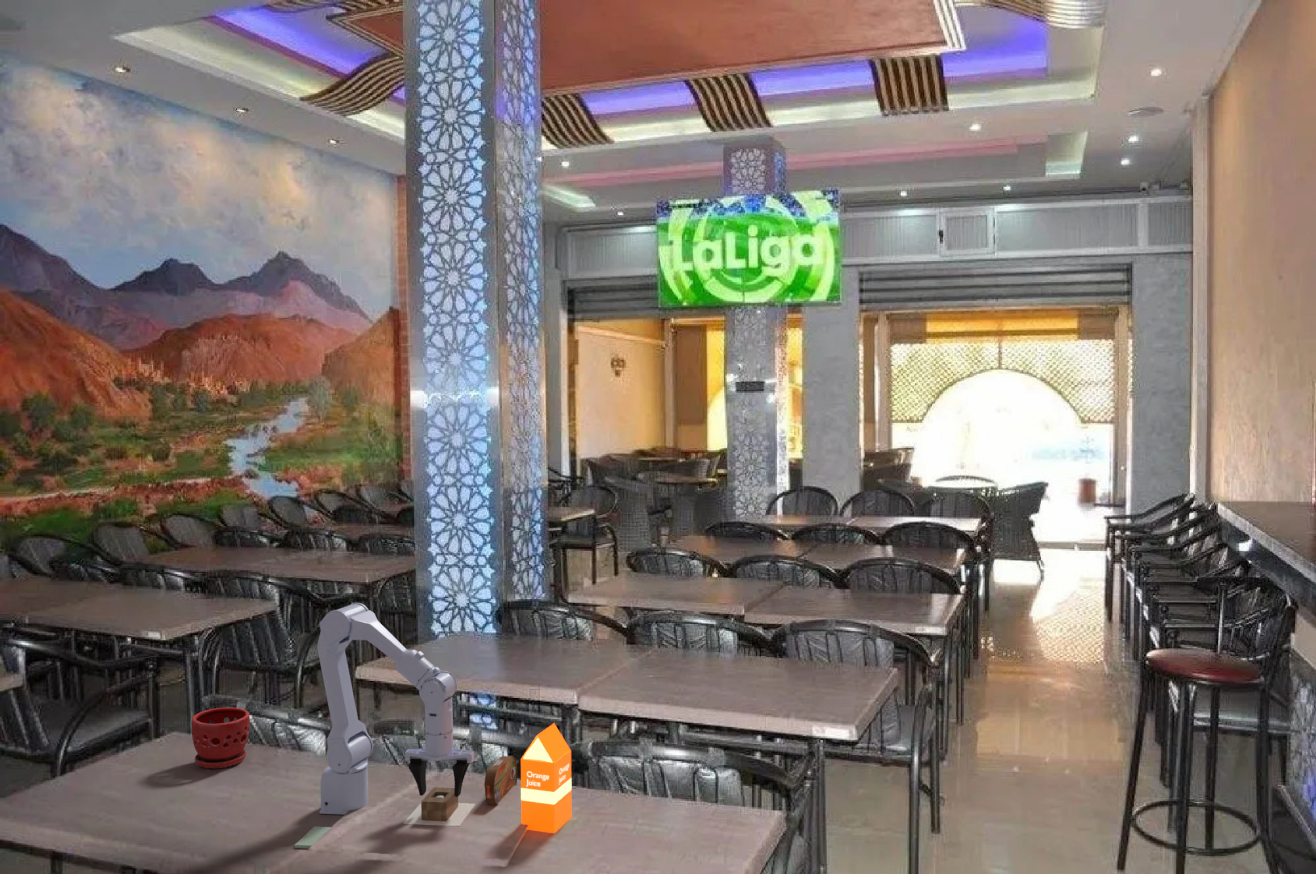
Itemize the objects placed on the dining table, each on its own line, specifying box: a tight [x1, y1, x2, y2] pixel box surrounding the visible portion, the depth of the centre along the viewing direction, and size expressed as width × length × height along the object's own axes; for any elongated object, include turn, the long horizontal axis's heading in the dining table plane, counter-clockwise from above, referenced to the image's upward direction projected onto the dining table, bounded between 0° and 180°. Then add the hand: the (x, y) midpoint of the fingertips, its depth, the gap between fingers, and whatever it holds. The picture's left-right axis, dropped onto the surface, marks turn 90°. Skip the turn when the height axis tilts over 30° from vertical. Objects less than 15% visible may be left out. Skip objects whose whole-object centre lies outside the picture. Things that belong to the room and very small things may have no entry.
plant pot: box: [191, 707, 251, 769], centre depth 259 cm, size 13×13×12 cm
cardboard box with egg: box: [420, 786, 459, 821], centre depth 225 cm, size 5×8×4 cm
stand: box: [402, 795, 476, 827], centre depth 225 cm, size 12×12×4 cm
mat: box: [294, 826, 332, 849], centre depth 214 cm, size 18×9×1 cm, turn 83°
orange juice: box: [520, 722, 573, 834], centre depth 222 cm, size 8×9×20 cm
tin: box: [483, 755, 518, 806], centre depth 236 cm, size 15×3×8 cm, turn 168°
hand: (440, 794), depth 225 cm, fingers open, 7 cm apart
